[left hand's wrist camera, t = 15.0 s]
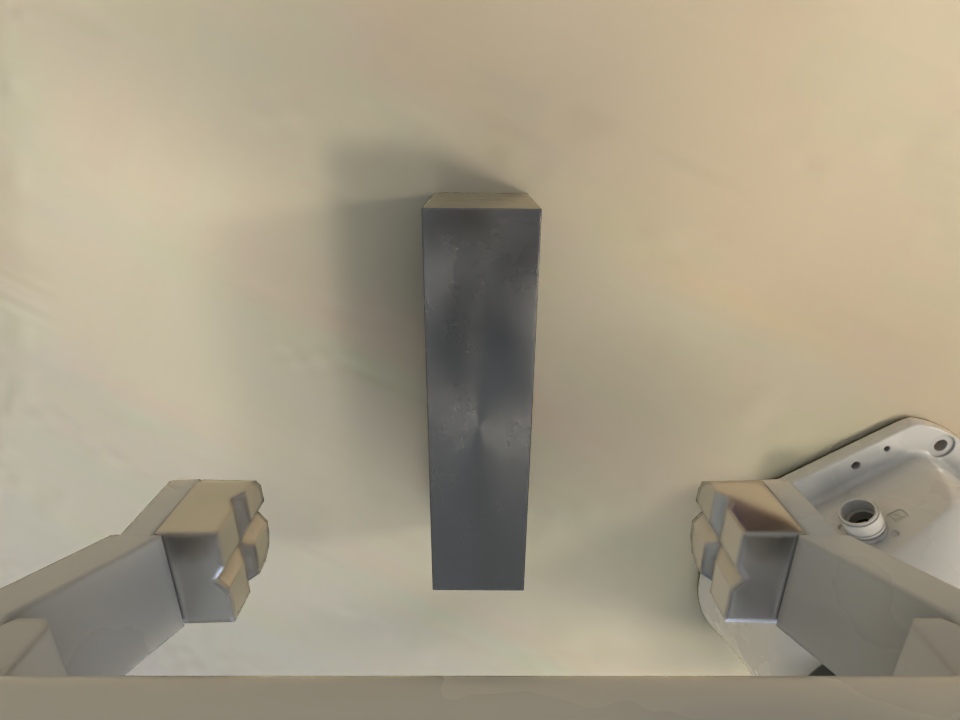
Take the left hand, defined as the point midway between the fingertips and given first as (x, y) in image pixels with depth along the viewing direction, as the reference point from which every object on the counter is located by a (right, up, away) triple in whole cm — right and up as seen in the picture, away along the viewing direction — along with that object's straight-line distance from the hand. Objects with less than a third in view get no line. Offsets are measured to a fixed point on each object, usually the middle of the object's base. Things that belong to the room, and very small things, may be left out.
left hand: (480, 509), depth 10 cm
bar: (0, +2, +26) cm, 27 cm away
